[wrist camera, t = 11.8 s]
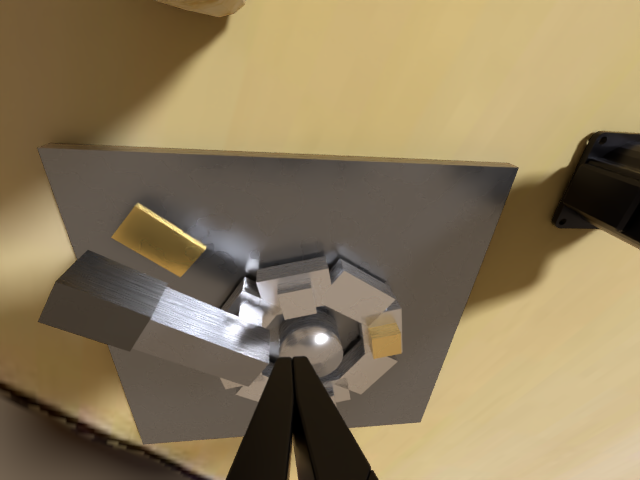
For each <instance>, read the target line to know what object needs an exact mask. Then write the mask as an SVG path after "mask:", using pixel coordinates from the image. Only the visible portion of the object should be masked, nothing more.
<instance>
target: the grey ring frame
mask: <svg viewBox="0 0 640 480" xmlns="http://www.w3.org/2000/svg"><path fill="white" fill-rule="evenodd" d="M167 284H168V283H166V282H163V281H161V280H158V279H156V278H154V277H151V276H149V275H147V274H144V273H142V272H140V271H137V270H135V269H132V268H130V267H128V266H125V265H123V264H121V263H118V262H116V261H114V260H111V259H109V258H107V257H104V256H102V255H99V254H97V253H95V252H92V251H90V250H87V251H86V252H85V253H84V254H83V255H82V256H81V257H80V258H79V259H78V260H77V261H76V262H75V263H74V264H73V265H72V266H71V267H70V268H69V269H68V270H67V271H66V272H65V273H64V274H63V275H62V276H61V277H60V278H59V279H58V280H57V281H56V282H55V284H54V287H53V289H52V291H51V293H50V296H49V298H48V300H47V302H46V305H45V307H44V309H43V312H42V314H41V316H40V318H39V321H38V322H40V323H43V324H46V325H49V326H52V327H55V328H58V329H61V330H64V331H68V332H71V333H74V334H77V335H80V336H83V337H86V338H89V339H92V340H95V341H98V342H101V343H104V344H107V345H111V346H114V347H117V348H120V349H123V350H126V351H129V352H130V351H131V349H135V350H138V351H141V352H144V353H147V354H150V355H153V356H156V357H159V358H162V359H165V360H168V361H171V362H174V363H177V364H180V365H183V366H186V367H189V368H192V369H195V370H199V371H202V372H205V373H208V374H211V375H214V376H217V377H220V379H221V381H222V383H223V385H224V387H225V389H230V388H234V387H236V395H238V396H242V397H245V398H248V399H251V400H254V401H257V402H259V399H260V397H261V395H262V392H263V390H264V388H265V385H266V383H267V380H268V378H269V376H270V373H271V371H272V369H273V366H274V364H275V363H272V362H269V340H270V330H268V329H266V327H267V326H268V325H269V324H270V322H271V321H272V320H273V319H274V318H275V316H276V315H279V314H283V316H284V320H286V319H291V318H296V317H301V316H306V315H311V314H316V313H317V311H316V307H319V306H324V305H325V306H327V307H329V308H331V309H333V310H335V311H337V312H339V313H341V314H343V315H345V316H347V317H350V318H352V319H354V320H356V321H358V322H359V330H360V338H361V340H360V341H359V342H358V343H357V344H356V345H355V346H354V347H353V348H352V349H351V350H350V351H349V352H348V353H347V354H346V355H345V356H344V357H343V359H342V361H341V363H340V365H339V366H338V367H337V368H336V369H335V370H334V371H333V372H331V373H330V374H328V375H326V376H323V377H320V380H321V382H322V383H323V385H324V387H325V389H326V390H327V392H328V394H329V395H330V397H331V399H332V401H333V402H334V404H335V406H336V402H341V401H346V400H351V399H350V393H349V390H351V391H353V392H356V393H359V394H362V393H363V392H364V391H366V390H367V389H368V388H369V387H370V386H371V385H372V384H373V383H374V382H376V381H377V380H378V379H379V378H380V377H381V376H382V375H383V374H384V373H386V372H387V371H388V370H389V369H390V368H391V367H392V366H393V365H394V364H396V363H397V362H398V360H397V358H396V354H401V353H402V352H403V350H402V310H401V307H400V305H399V303H398V301H397V299H396V297H395V295H393V293H392V291H391V289H390V287H389V286H388V285H386V284H384V283H382V282H381V281H379V280H377V279H375V278H374V277H372V276H370V275H369V274H367V273H365V272H363V271H362V270H360V269H358V268H356V267H355V266H353V265H351V264H349V263H348V262H346V261H344V260H342V259H341V258H340V259H339V260H338V261H337V262H336V264H335V265H334V266H333V267H332V268H331V269H330V271H329V268H328V264H327V260H326V256H323V257H318V258H313V259H308V260H302V261H297V262H292V263H287V264H282V265H277V266H271V267H266V268H261V269H257V278H256V282H255V281H253V280H251V279H248V278H246V277H244V278H243V280H242V281H241V282H240V284H239V285H238V287H237V288H236V289H235V291H234V292H233V293H232V295H231V296H230V297H229V299H228V300H227V302H226V303H225V304H224V306H223V307H222V308H221V309H218V308H216V307H213V306H211V305H209V304H206V303H204V302H202V301H199V300H197V299H194V298H192V297H190V296H187V295H185V294H182V293H180V292H178V291H175V290H173V289H171V288H168V287H166V286H167ZM336 407H337V406H336Z"/></svg>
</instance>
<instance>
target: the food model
mask: <svg viewBox="0 0 640 480" xmlns="http://www.w3.org/2000/svg"><path fill="white" fill-rule="evenodd" d="M155 1H158V2H161V3H164V4H167V5H171V6H174V7H178V8H181V9H184V10H188V11H193V12H198V13H202V14H207V15H211V16H215V17H222V16H226V15H230V14H234V13H235V12H236V11H238V10H239V9H240V8H241V7H242V6H243V5H245V0H155Z"/></svg>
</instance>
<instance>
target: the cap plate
mask: <svg viewBox="0 0 640 480" xmlns="http://www.w3.org/2000/svg"><path fill="white" fill-rule="evenodd" d="M37 149H38V152H39V155H40V157H41V160H42V163H43V166H44V168H45V171H46V174H47V177H48V180H49V182H50V185H51V188H52V191H53V194H54V196H55V199H56V202H57V205H58V208H59V210H60V213H61V216H62V219H63V222H64V224H65V227H66V230H67V233H68V235H69V238H70V241H71V244H72V247H73V249H74V252H75V255H76V258H77V260H78V259H79V258H80V257H81V256H82V255H83V254H84V253H85V252H86V251H87V250H90V251H92V252H95V253H97V254H99V255H102V256H104V257H107V258H109V259H111V260H114V261H116V262H118V263H121V264H123V265H125V266H128V267H130V268H132V269H135V270H137V271H140V272H142V273H144V274H147V275H149V276H151V277H154V278H156V279H158V280H161V281H163V282H166V283H168V284H167V286H166V287H168V288H171V289H173V290H175V291H178V292H180V293H182V294H185V295H187V296H190V297H192V298H194V299H197V300H199V301H202V302H204V303H206V304H209V305H211V306H213V307H216V308H218V309H221V308H222V307H223V306H224V304H225V303H226V302H227V300H228V299H229V297H230V296H231V295H232V293H233V292H234V291H235V289H236V288H237V287H238V285H239V284H240V282H241V281H242V280H243V278H244V277H246V278H248V279H251V280H253V281H255V282H256V278H257V269H261V268H266V267H271V266H277V265H282V264H287V263H292V262H297V261H302V260H308V259H313V258H318V257H323V256H326V260H327V264H328V268H329V271H330V269H331V268H332V267H333V266H334V265H335V264H336V262H337V261H338V260H339V259H340V258H341V259H342V260H344V261H346V262H348V263H349V264H351V265H353V266H355V267H356V268H358V269H360V270H362V271H363V272H365V273H367V274H369V275H370V276H372V277H374V278H375V279H377V280H379V281H381V282H382V283H384V284H386V285H388V286H389V287H390V289H391V291H392V293H393V295H395V297H396V299H397V301H398V303H399V305H400V307H401V310H402V350H403V352H402V353H401V354H396V358H397V360H398V362H397V363H396V364H394V365H393V366H392V367H391V368H390V369H389V370H388V371H387V372H386V373H384V374H383V375H382V376H381V377H380V378H379V379H378V380H377V381H376V382H374V383H373V384H372V385H371V386H370V387H369V388H368V389H367V390H366V391H364V392H363V393H362V394H359V393H356V392H353V391H351V390H349V393H350V399H351V400H346V401H341V402H336V406H337V409H338V411H339V413H340V414H341V416H342V418H343V420H344V421H345V423H346V425H347V426H348V428H355V427H367V426H380V425H392V424H405V423H417V422H421V419H422V417H423V414H424V412H425V409H426V406H427V404H428V401H429V399H430V396H431V393H432V391H433V388H434V386H435V383H436V380H437V378H438V375H439V373H440V370H441V368H442V365H443V362H444V360H445V357H446V355H447V352H448V349H449V347H450V344H451V342H452V339H453V336H454V334H455V331H456V329H457V326H458V324H459V321H460V318H461V316H462V313H463V311H464V308H465V305H466V303H467V300H468V298H469V295H470V293H471V290H472V287H473V285H474V282H475V280H476V277H477V274H478V272H479V269H480V267H481V264H482V261H483V259H484V256H485V254H486V251H487V249H488V246H489V243H490V241H491V238H492V236H493V233H494V230H495V228H496V225H497V223H498V220H499V217H500V215H501V212H502V210H503V207H504V205H505V202H506V199H507V197H508V194H509V192H510V189H511V186H512V184H513V181H514V179H515V176H516V173H517V171H518V167H516V166H514V165H512V164H509V163H498V162H474V161H451V160H428V159H405V158H382V157H359V156H336V155H313V154H289V153H266V152H243V151H220V150H197V149H174V148H151V147H128V146H105V145H81V144H58V143H49V144H46V145H43V146H41V147H38V148H37ZM316 311H317V313H316V314H311V315H306V316H301V317H296V318H291V319H286V320H284V316H283V314H279V315H276V316H275V318H274V319H273V320H272V321H271V322H270V324H269V325H268V326H267V327H266V329H268V330H270V340H269V362H272V363H275V362H276V359H277V358H278V357H291V358H293V357H294V356H306V357H307V358H308V359H309V361H310V363H311V364H312V366H313V368H314V370H315V371H316V373H317V375H318V376H319V378H320V377H323V376H326V375H328V374H330V373H331V372H333V371H334V370H335V369H336V368H337V367H338V366H339V365H340V363H341V361H342V359H343V357H344V356H345V355H346V354H347V353H348V352H349V351H350V350H351V349H352V348H353V347H354V346H355V345H356V344H357V343H358V342H359V341H360V340H361V338H360V330H359V322H358V321H356V320H354V319H352V318H350V317H347V316H345V315H343V314H341V313H339V312H337V311H335V310H333V309H331V308H329V307H327V306H325V305H324V306H319V307H316ZM108 347H109V350H110V353H111V355H112V358H113V361H114V364H115V367H116V369H117V372H118V375H119V378H120V381H121V383H122V386H123V389H124V392H125V395H126V397H127V400H128V403H129V406H130V408H131V411H132V414H133V417H134V420H135V422H136V425H137V428H138V431H139V434H140V436H141V439H142V442H143V444H154V443H167V442H179V441H192V440H204V439H217V438H229V437H242V436H244V435H245V433H246V430H247V428H248V425H249V423H250V421H251V418H252V416H253V414H254V411H255V409H256V407H257V404H258V402H257V401H254V400H251V399H248V398H245V397H242V396H238V395H236V387H234V388H230V389H225V387H224V385H223V383H222V381H221V379H220V377H217V376H214V375H211V374H208V373H205V372H202V371H199V370H195V369H192V368H189V367H186V366H183V365H180V364H177V363H174V362H171V361H168V360H165V359H162V358H159V357H156V356H153V355H150V354H147V353H144V352H141V351H138V350H135V349H131V351H130V352H129V351H126V350H123V349H120V348H117V347H114V346H111V345H108Z"/></svg>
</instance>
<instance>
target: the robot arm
mask: <svg viewBox="0 0 640 480" xmlns="http://www.w3.org/2000/svg"><path fill="white" fill-rule="evenodd" d="M600 139H601V140H600ZM599 140H600V141H599ZM560 220H561V221H560ZM551 223H552V225H554V226H555V227H557V228H583V229H601V230H603V231H605V232H607V233H609V234H611V235H613V236H615V237H617V238H619V239H620V240H622V241H624V242H626V243H628V244H630V245H632V246H634V247H636V248H638V249H640V133H627V132H611V131H598V132H596V133H595V134H594V135H593V136H592V137H591V139H590V141H589V143H588V145H587V147H586V149H585V151H584V153H583V155H582V157H581V159H580V161H579V164H578V166H577V168H576V170H575V172H574V174H573V176H572V178H571V180H570V182H569V185H568V187H567V189H566V191H565V193H564V195H563V197H562V199H561V201H560V203H559V205H558V208H557V210H556V212H555V214H554V216H553V218H552V221H551ZM292 436H293V444H294V452H295V459H296V466H297V473H298V480H379V479H378V478H377V476H376V474H375V473H374V471H373V470H371V466H370V464H369V463H368V461H367V459H366V457H365V456H364V454H363V452H362V451H361V449H360V447H359V445H358V444H357V442H356V440H355V438H354V437H353V435H352V433H351V432H350V430H349V428H348V426H347V425H346V423H345V421H344V420H343V418H342V416H341V414H340V413H339V411H338V409H337V407H336V406H335V404H334V402H333V401H332V399H331V397H330V395H329V394H328V392H327V390H326V389H325V387H324V385H323V383H322V382H321V380H320V378H319V376H318V375H317V373H316V371H315V370H314V368H313V366H312V364H311V363H310V361H309V359H308V358H307V357H306V356H294V357H293V358H291V357H278V358H277V359H276V362H275V364H274V366H273V369H272V371H271V373H270V376H269V378H268V380H267V383H266V385H265V388H264V390H263V392H262V395H261V397H260V399H259V402H258V404H257V407H256V409H255V411H254V414H253V416H252V418H251V421H250V423H249V425H248V428H247V430H246V433H245V435H244V437H243V440H242V442H241V444H240V447H239V449H238V452H237V454H236V456H235V459H234V461H233V463H232V466H231V468H230V470H229V473H228V475H227V478H226V480H289V477H290V465H291V453H292Z"/></svg>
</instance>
